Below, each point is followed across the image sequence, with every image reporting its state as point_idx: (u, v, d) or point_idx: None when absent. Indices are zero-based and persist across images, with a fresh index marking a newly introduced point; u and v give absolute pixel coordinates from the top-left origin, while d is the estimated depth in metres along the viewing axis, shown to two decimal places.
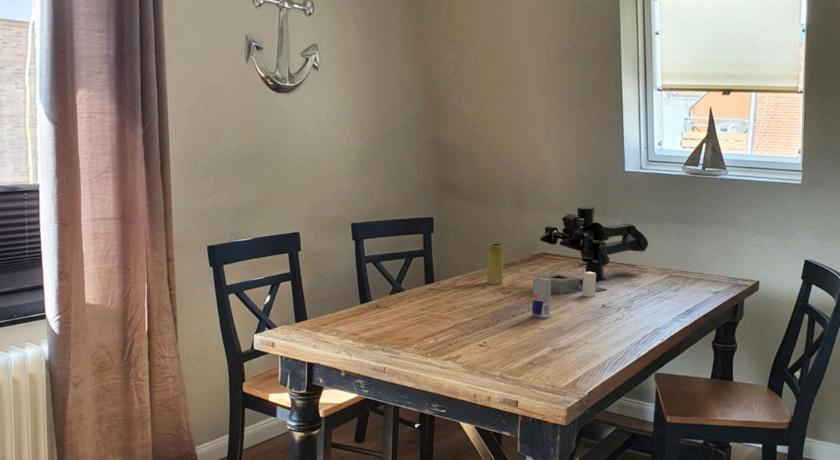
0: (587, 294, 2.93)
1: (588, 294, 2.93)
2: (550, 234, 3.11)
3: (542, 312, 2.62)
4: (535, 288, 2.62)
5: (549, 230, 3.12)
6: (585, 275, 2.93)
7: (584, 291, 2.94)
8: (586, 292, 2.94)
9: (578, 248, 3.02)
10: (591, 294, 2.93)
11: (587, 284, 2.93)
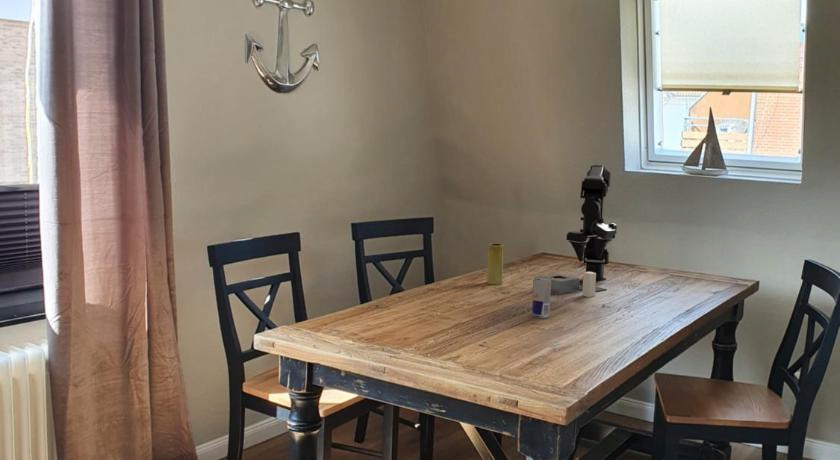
0: (587, 294, 2.93)
1: (588, 294, 2.93)
2: None
3: (542, 312, 2.62)
4: (535, 288, 2.62)
5: (583, 244, 2.87)
6: (585, 275, 2.93)
7: (584, 291, 2.94)
8: (586, 292, 2.94)
9: None
10: (591, 294, 2.93)
11: (587, 284, 2.93)
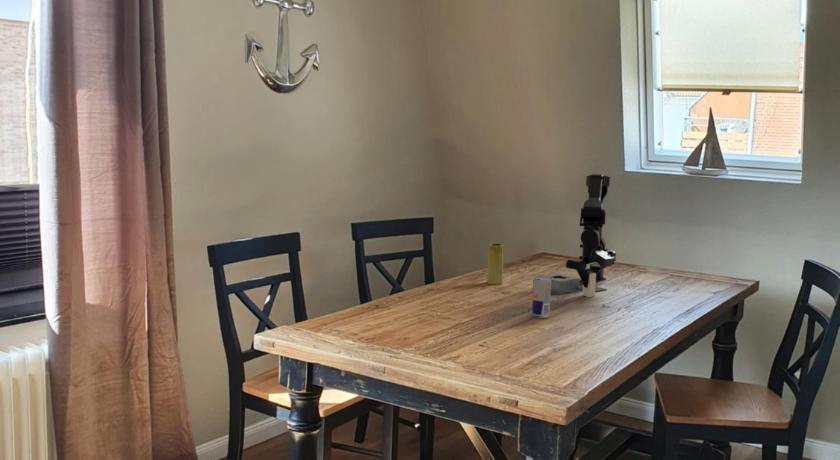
0: (587, 294, 2.93)
1: (588, 294, 2.93)
2: None
3: (542, 312, 2.62)
4: (535, 288, 2.62)
5: (589, 271, 2.90)
6: None
7: (584, 291, 2.94)
8: (586, 292, 2.94)
9: None
10: (591, 294, 2.93)
11: None
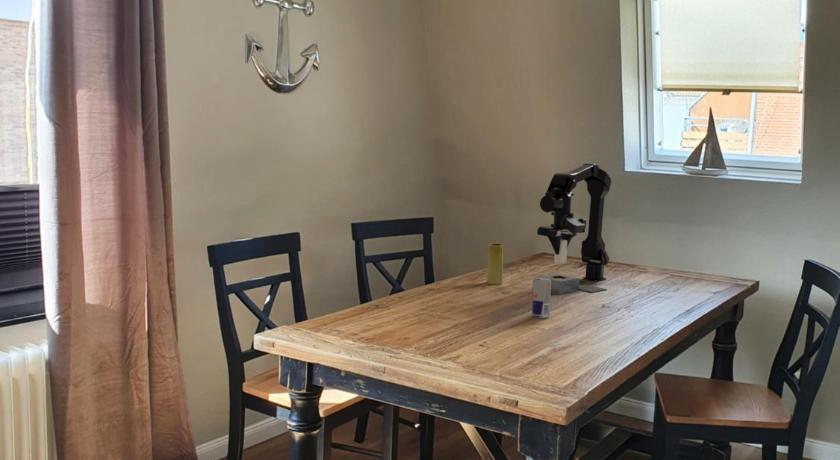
0: (559, 260, 3.00)
1: (559, 261, 3.00)
2: None
3: (542, 312, 2.62)
4: (535, 288, 2.62)
5: (560, 238, 2.96)
6: None
7: (556, 258, 3.01)
8: (557, 259, 3.00)
9: None
10: (562, 261, 3.00)
11: (559, 251, 2.99)
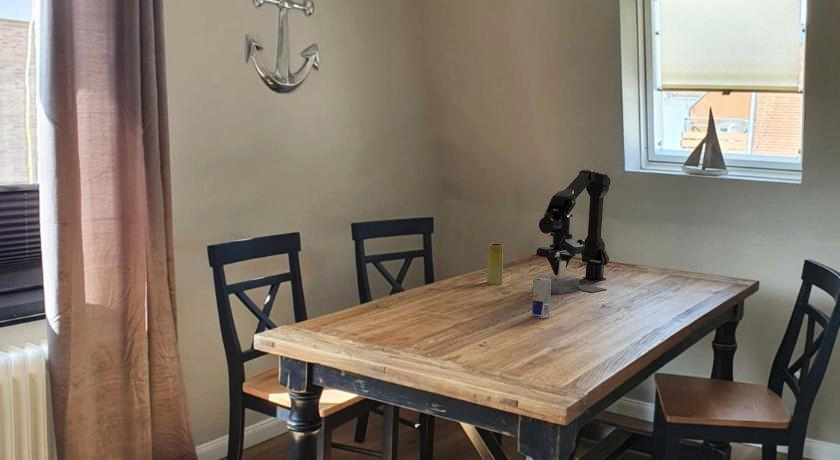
0: None
1: None
2: None
3: (542, 312, 2.62)
4: (535, 288, 2.62)
5: (558, 259, 2.98)
6: None
7: None
8: None
9: None
10: None
11: (558, 271, 3.01)
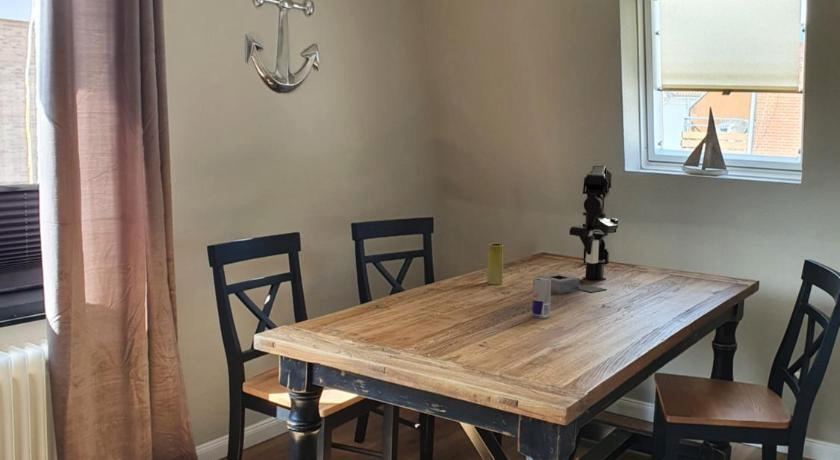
0: (591, 260, 3.01)
1: (591, 261, 3.01)
2: None
3: (542, 312, 2.62)
4: (535, 288, 2.62)
5: (592, 238, 2.98)
6: None
7: (587, 258, 3.02)
8: (589, 259, 3.02)
9: None
10: (594, 261, 3.01)
11: None
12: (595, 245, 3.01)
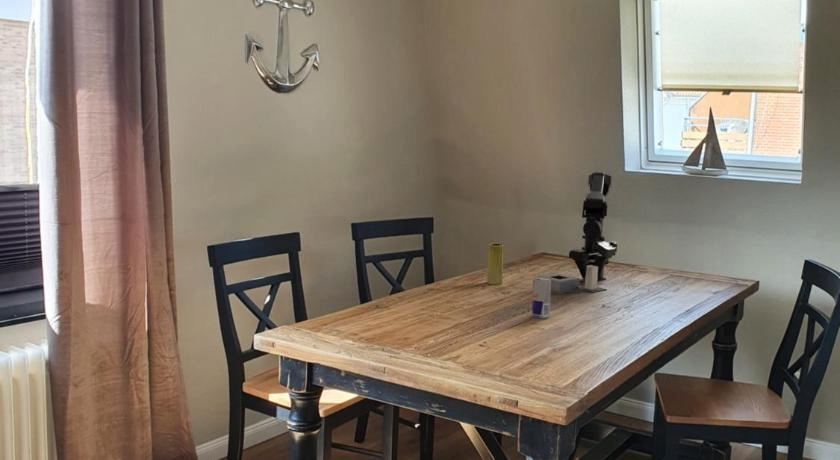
0: (590, 286, 3.03)
1: (590, 287, 3.02)
2: None
3: (542, 312, 2.62)
4: (535, 288, 2.62)
5: (586, 262, 2.98)
6: (587, 268, 3.03)
7: (586, 284, 3.04)
8: (588, 285, 3.03)
9: None
10: (593, 287, 3.03)
11: (590, 277, 3.02)
12: (594, 271, 3.02)
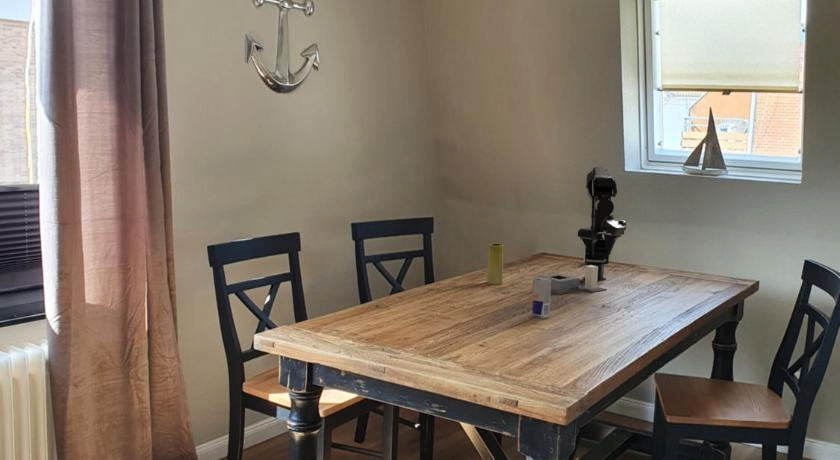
0: (590, 286, 3.03)
1: (590, 287, 3.02)
2: None
3: (542, 312, 2.62)
4: (535, 288, 2.62)
5: (594, 241, 2.97)
6: (587, 268, 3.03)
7: (586, 284, 3.04)
8: (588, 285, 3.03)
9: None
10: (593, 287, 3.03)
11: (590, 277, 3.02)
12: (594, 271, 3.02)
